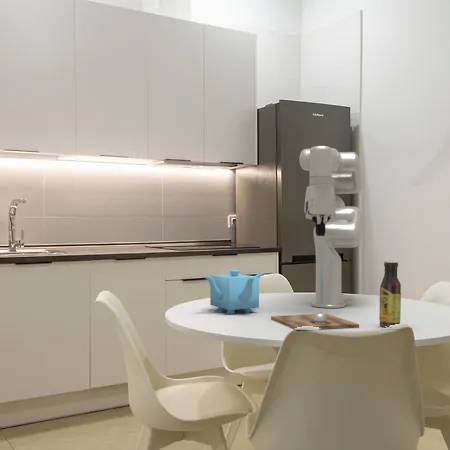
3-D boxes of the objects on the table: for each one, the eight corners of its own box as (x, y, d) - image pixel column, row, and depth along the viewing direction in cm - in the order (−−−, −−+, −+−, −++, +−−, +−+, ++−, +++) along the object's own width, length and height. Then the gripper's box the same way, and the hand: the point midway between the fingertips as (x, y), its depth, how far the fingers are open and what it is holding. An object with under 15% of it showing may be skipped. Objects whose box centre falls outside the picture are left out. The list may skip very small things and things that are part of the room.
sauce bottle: (376, 324, 193) (376, 260, 192) (396, 324, 193) (396, 260, 193) (383, 328, 186) (383, 262, 186) (403, 328, 187) (404, 262, 186)
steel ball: (329, 318, 188) (326, 328, 190) (324, 309, 191) (321, 319, 193) (317, 319, 187) (314, 329, 189) (312, 310, 190) (310, 320, 192)
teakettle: (216, 307, 231) (216, 267, 231) (266, 309, 227) (266, 268, 226) (201, 314, 213) (201, 271, 213) (255, 316, 208) (255, 273, 208)
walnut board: (326, 316, 209) (326, 313, 209) (359, 327, 188) (359, 324, 188) (271, 319, 203) (271, 316, 203) (298, 330, 182) (298, 327, 182)
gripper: (335, 183, 219) (335, 235, 219) (296, 182, 215) (296, 235, 215) (345, 182, 212) (345, 236, 212) (305, 181, 207) (304, 236, 208)
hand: (320, 235), depth 213 cm, fingers closed
